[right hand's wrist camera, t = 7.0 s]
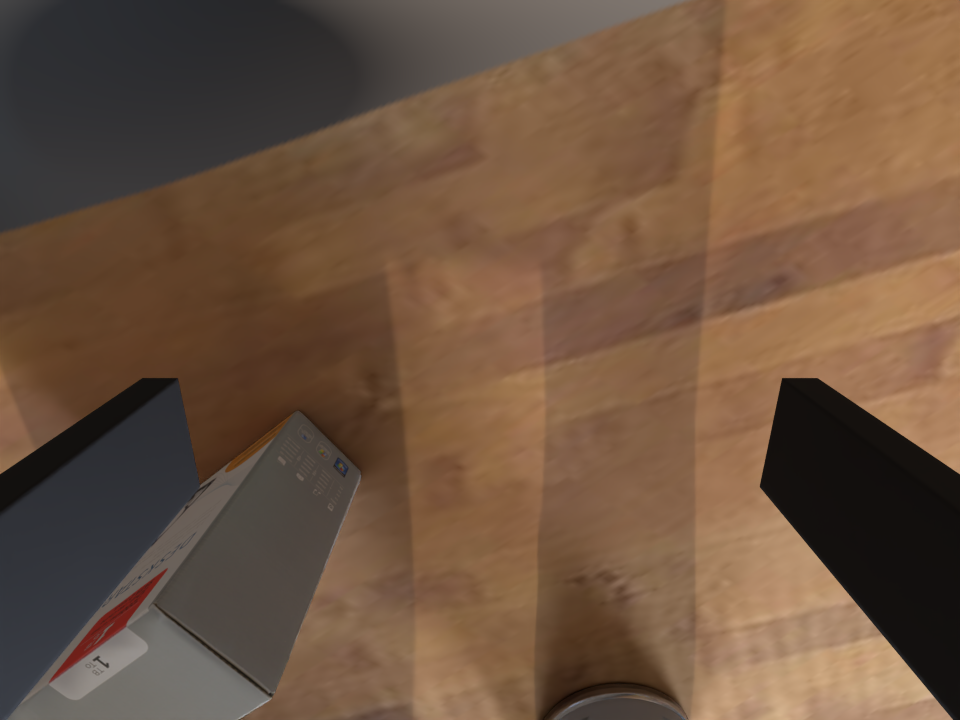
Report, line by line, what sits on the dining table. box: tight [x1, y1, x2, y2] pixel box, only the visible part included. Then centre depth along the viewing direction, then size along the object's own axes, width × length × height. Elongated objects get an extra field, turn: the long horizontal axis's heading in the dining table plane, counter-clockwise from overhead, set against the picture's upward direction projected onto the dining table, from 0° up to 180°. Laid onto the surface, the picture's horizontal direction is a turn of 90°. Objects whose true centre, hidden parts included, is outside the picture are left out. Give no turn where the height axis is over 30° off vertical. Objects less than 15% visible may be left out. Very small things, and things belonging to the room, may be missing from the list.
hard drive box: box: [7, 411, 361, 720], centre depth 36 cm, size 16×8×20 cm, turn 128°
